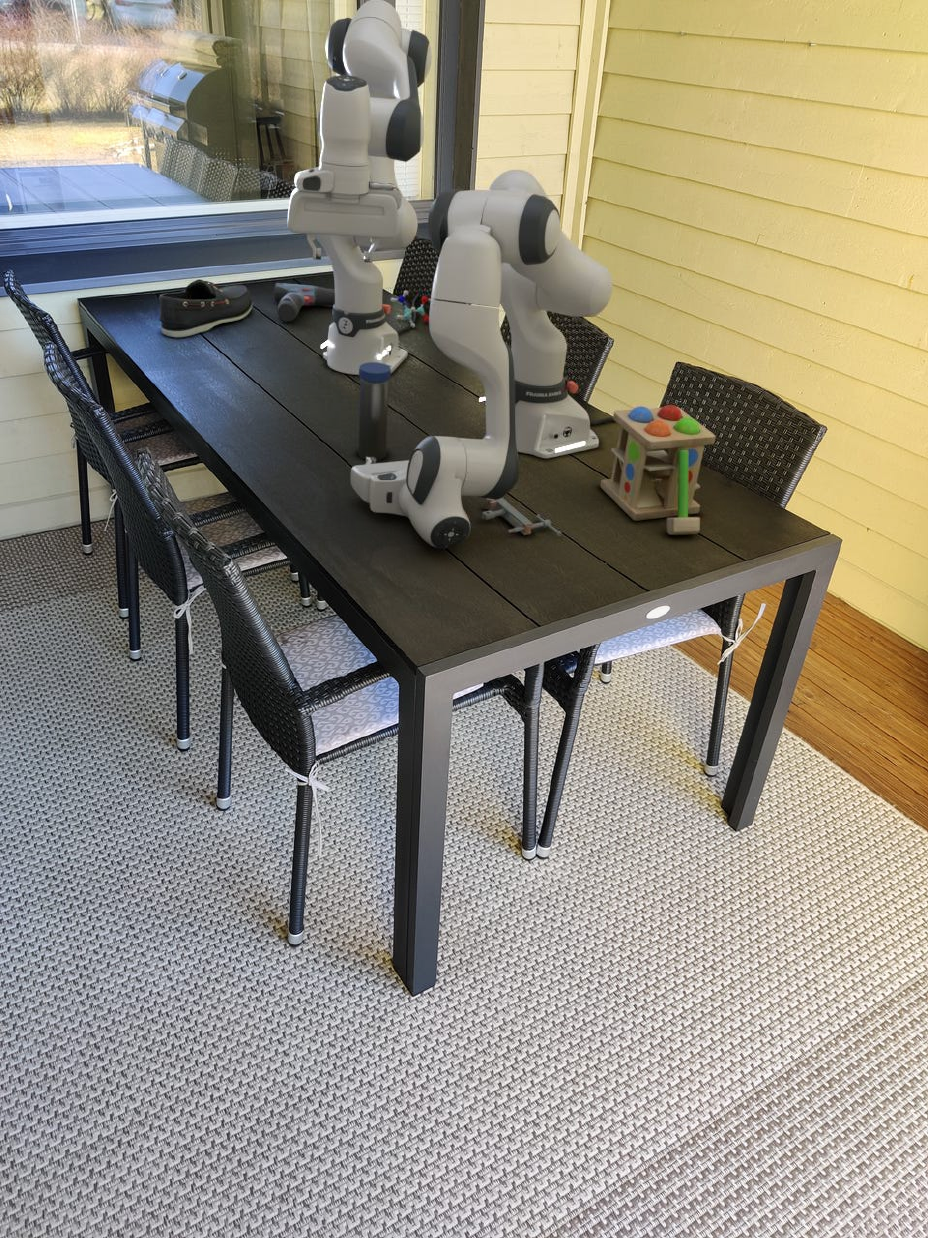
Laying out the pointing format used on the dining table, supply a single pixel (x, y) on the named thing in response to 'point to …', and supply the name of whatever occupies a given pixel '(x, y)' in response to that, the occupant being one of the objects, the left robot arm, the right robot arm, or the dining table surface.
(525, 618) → the dining table surface
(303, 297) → the power drill
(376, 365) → the lid
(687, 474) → the pounding bench toy
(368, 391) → the dark grey bottle
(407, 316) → the molecular model
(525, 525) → the clamp
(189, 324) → the boat shoe
